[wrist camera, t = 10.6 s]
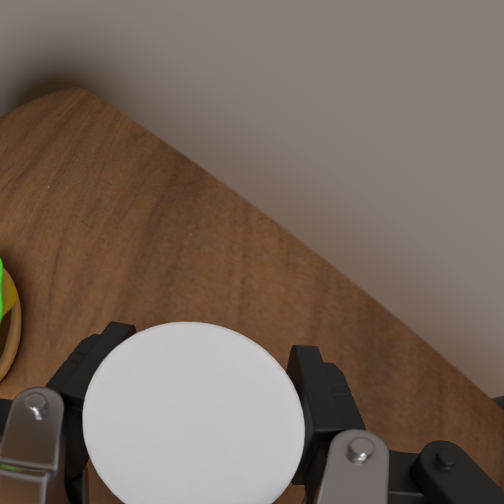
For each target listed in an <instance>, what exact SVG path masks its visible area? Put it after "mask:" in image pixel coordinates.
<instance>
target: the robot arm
mask: <svg viewBox="0 0 504 504" xmlns="http://www.w3.org/2000/svg"><path fill="white" fill-rule="evenodd" d="M134 334H136V328H135V326H134V325H129V324H123V323H118V322H110V323H109V324H108V326H107V327H106V328H105V330H104V331H103V332H102V333H101V335H98V334H93V335H91V336H89V337H87V338H86V339H84V340H82V341H81V342H80V343H79V345H78V346H77V347H76V348H75V350H74V352H72V353H71V354H70V356H69V357H68V360H66V361H65V362H64V363H63V364H62V366H61V367H60V368H59V369H58V371H57V372H56V373H55V374H54V376H53V377H52V378H51V380H50V381H49V382H48V383H47V385H46V386H45V387H32V388H28V389H25V390H24V391H22V392H20V393H19V394H18V395H17V396H16V397H15V398H14V400H7V399H0V504H90V503H89V475H88V468H87V465H86V464H87V462H88V460H89V457H90V456H89V454H88V451H87V447H86V444H85V440H84V434H83V406H84V401H85V396H86V392H87V389H88V386H89V384H90V382H91V380H92V377H93V375H94V373H95V372H96V370H97V369H98V367H99V366H100V364H101V363H102V361H103V360H104V359H105V358H106V357H107V356H108V354H109V353H110V352H111V351H112V350H113V349H115V348H116V347H117V346H118V345H119V344H121V343H122V342H124V341H125V340H126V339H128V338H130V337H131V336H133V335H134ZM286 374H287V375H288V377H289V378H290V380H291V381H292V383H293V385H294V388H295V390H296V392H297V395H298V397H299V400H300V403H301V407H302V411H303V416H304V424H305V438H304V447H303V452H302V456H301V459H300V462H299V465H298V468H297V470H296V472H295V474H294V476H293V478H292V485H305V492H306V495H305V497H304V499H303V501H302V504H504V492H503V491H502V490H501V489H500V488H499V487H498V486H497V485H496V484H495V483H494V482H493V481H492V480H491V479H490V478H489V477H488V475H487V474H486V473H485V472H484V471H483V470H482V469H481V468H480V467H479V466H478V465H477V464H476V463H475V462H474V461H473V460H472V459H471V458H470V457H469V456H468V455H467V454H466V453H465V452H464V451H463V450H462V449H461V448H460V447H459V446H457V445H456V444H454V443H451V442H448V441H441V440H440V441H433V442H430V443H429V444H427V445H426V446H425V447H424V448H423V449H422V451H421V452H420V454H414V453H405V452H397V451H391V450H388V447H387V445H386V444H385V442H384V441H383V440H382V439H381V438H380V437H378V436H377V435H375V434H373V433H371V432H368V431H366V428H365V426H364V423H363V421H362V418H361V416H360V413H359V411H358V408H357V406H356V403H355V401H354V398H353V396H351V395H352V393H351V391H350V389H349V387H348V384H347V381H346V379H345V376H344V374H343V372H342V371H341V370H339V369H338V368H337V367H336V366H335V365H334V364H333V363H323V360H322V357H321V354H320V352H319V349H318V347H317V346H302V345H293V346H292V348H291V351H290V356H289V360H288V365H287V369H286Z"/></svg>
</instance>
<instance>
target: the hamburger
mask: <svg viewBox="0 0 504 504" xmlns="http://www.w3.org/2000/svg"><path fill="white" fill-rule="evenodd" d="M20 334H21V307H20V301H19V297H18V293H17V289H16V287H15V284H14V282H13V280H12V278H11V277H10V275H9V274H8V272H7V271H6V270H5V269H4V268H3V264H2V260H1V258H0V381H1V380H2V379H3V377H4V376H5V375H6V373H7V372H8V370H9V368H10V367H11V365H12V363H13V361H14V358H15V355H16V353H17V349H18V345H19V341H20Z"/></svg>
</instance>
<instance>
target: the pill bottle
mask: <svg viewBox="0 0 504 504" xmlns="http://www.w3.org/2000/svg"><path fill="white" fill-rule="evenodd" d="M83 434H84V440H85V444H86V447H87V451H88V454H89V456H90V459H91V461H92V463H93V465H94V467H95V469H96V471H97V473H98V475H99V476H100V478H101V479H102V480H103V482H104V483H105V484H106V485H107V487H108V488H109V489H110V490H111V491H112V492H113V493H114V494H115V495H116V496H117V497H118V498H119V499H120V500H121V501H122V502H124V503H125V504H272V503H273V502H274V501H275V500H276V499H277V498H278V497H279V496H280V495H281V494H282V493H283V491H284V490H285V489H286V487H287V486H288V485H289V483H290V482H291V480H292V478H293V476H294V474H295V472H296V470H297V468H298V465H299V462H300V459H301V456H302V452H303V447H304V438H305V424H304V416H303V411H302V407H301V403H300V400H299V397H298V395H297V392H296V390H295V388H294V385H293V383H292V381H291V380H290V378H289V377H288V375H287V374H286V372H285V371H284V369H283V368H282V367H281V366H280V364H279V363H278V362H277V361H276V360H275V359H274V358H273V357H272V356H271V355H270V354H269V353H268V352H267V351H266V350H265V349H263V348H262V347H261V346H259V345H258V344H256V343H255V342H254V341H252V340H250V339H249V338H247V337H245V336H243V335H241V334H239V333H237V332H235V331H232V330H230V329H227V328H225V327H221V326H217V325H213V324H207V323H201V322H174V323H167V324H162V325H157V326H154V327H151V328H148V329H146V330H144V331H141V332H139V333H136V334H134V335H133V336H131V337H130V338H128V339H126V340H125V341H124V342H122V343H121V344H119V345H118V346H117V347H116V348H115V349H113V350H112V351H111V352H110V353H109V354H108V356H107V357H106V358H105V359H104V360H103V361H102V363H101V364H100V366H99V367H98V369H97V370H96V372H95V373H94V375H93V377H92V380H91V382H90V384H89V386H88V389H87V392H86V396H85V401H84V406H83Z"/></svg>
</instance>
